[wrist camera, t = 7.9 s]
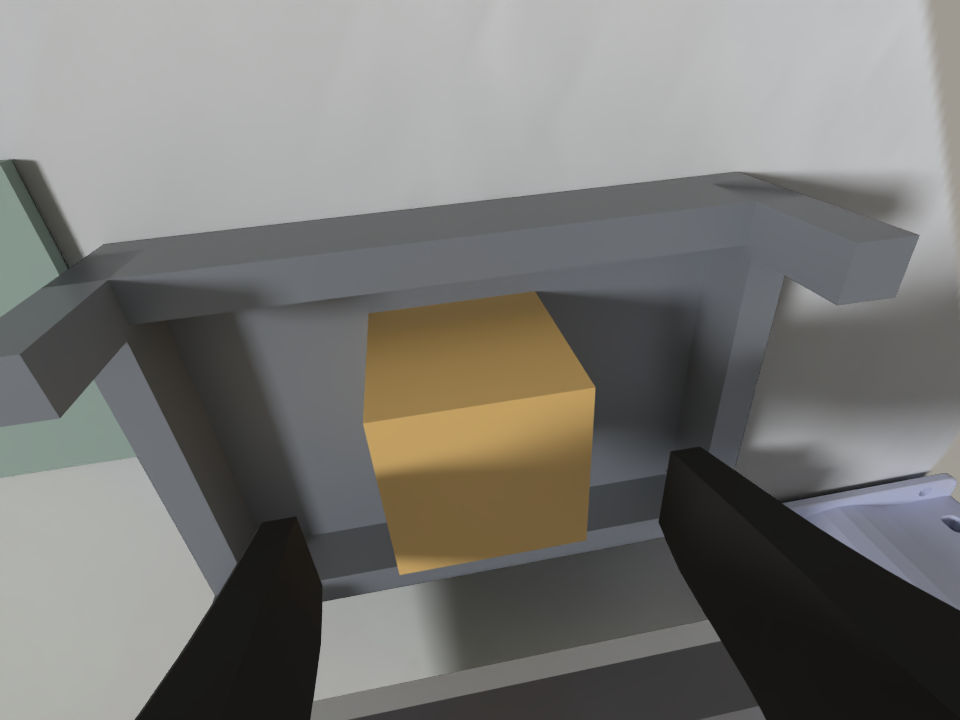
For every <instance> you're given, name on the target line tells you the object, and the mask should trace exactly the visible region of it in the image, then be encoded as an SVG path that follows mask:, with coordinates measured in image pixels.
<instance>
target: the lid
mask: <svg viewBox="0 0 960 720" xmlns="http://www.w3.org/2000/svg"><path fill="white" fill-rule="evenodd" d="M310 720H766V719H765V717H764V715H763V713H762V711H761V709H760V707H759V705H758V704H757V702H756V700H755V698H754V696H753V694H752V693H751V691H750V689H749V687H748V685H747V684H746V682H745V680H744V679H743V677H742V675H741V674H740V672H739V670H738V668H737V667H736V665H735V663H734V662H733V660H732V658H731V657H730V655H729V653H728V652H727V650H726V648H725V647H724V645H723V643H722V642H721V640H720V638H719V637H718V635H717V633H716V632H715V630H714V628H713V627H712V625H711V623H710V622H709V620H704V621H699V622H695V623H690V624H685V625H680V626H675V627H670V628H666V629H661V630H656V631H651V632H646V633H641V634H637V635H632V636H627V637H622V638H617V639H612V640H608V641H603V642H598V643H593V644H588V645H583V646H579V647H574V648H569V649H564V650H559V651H554V652H550V653H545V654H540V655H535V656H530V657H525V658H521V659H516V660H511V661H506V662H501V663H496V664H492V665H487V666H482V667H477V668H472V669H467V670H463V671H458V672H453V673H448V674H443V675H438V676H434V677H429V678H424V679H419V680H414V681H409V682H405V683H400V684H395V685H390V686H385V687H380V688H376V689H371V690H366V691H361V692H356V693H351V694H347V695H342V696H337V697H332V698H327V699H322V700H318V701H313V705H312V712H311V719H310Z"/></svg>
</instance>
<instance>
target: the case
mask: <svg viewBox="0 0 960 720" xmlns="http://www.w3.org/2000/svg"><path fill="white" fill-rule="evenodd" d="M918 238H919V235H918V234H915V233H912V232H909V231H906V230H903V229H901V228H898V227H895V226H892V225H889V224H886V223H883V222H880V221H878V220H875V219H872V218H869V217H866V216H863V215H860V214H857V213H855V212H852V211H849V210H846V209H843V208H840V207H837V206H835V205H832V204H829V203H826V202H823V201H820V200H817V199H814V198H812V197H809V196H806V195H803V194H800V193H797V192H794V191H791V190H789V189H786V188H783V187H780V186H777V185H774V184H771V183H769V182H766V181H763V180H760V179H757V178H754V177H751V176H748V175H746V174H743V173H740V172H732V173H723V174H714V175H706V176H697V177H688V178H680V179H671V180H662V181H653V182H645V183H636V184H627V185H618V186H610V187H601V188H592V189H583V190H575V191H566V192H557V193H548V194H540V195H531V196H522V197H513V198H505V199H496V200H487V201H478V202H470V203H461V204H452V205H443V206H435V207H426V208H417V209H408V210H400V211H391V212H382V213H373V214H365V215H356V216H347V217H338V218H330V219H321V220H312V221H303V222H295V223H286V224H277V225H268V226H260V227H251V228H242V229H233V230H225V231H216V232H207V233H198V234H190V235H181V236H172V237H163V238H155V239H146V240H137V241H128V242H120V243H111V244H103V245H102V246H100V247H99V248H98V249H96V250H95V251H93V252H92V253H90V254H89V255H88V256H86V257H85V258H83V259H82V260H81V261H79V262H78V263H76V264H75V265H73V266H72V267H71V268H69V269H68V270H66V271H65V272H64V273H62V274H61V275H59V276H58V277H56V278H55V279H54V280H52V281H51V282H49V283H48V284H47V285H45V286H44V287H42V288H41V289H40V290H38V291H37V292H35V293H34V294H32V295H31V296H30V297H28V298H27V299H25V300H24V301H23V302H21V303H20V304H18V305H17V306H15V307H14V308H13V309H11V310H10V311H8V312H7V313H6V314H4V315H3V316H1V317H0V427H5V426H12V425H19V424H26V423H32V422H39V421H46V420H53V419H60V418H61V417H62V416H63V415H64V413H65V412H66V411H67V410H68V409H69V408H70V406H71V405H72V404H73V403H74V402H75V401H76V400H77V398H78V397H79V396H80V395H81V394H82V393H83V391H84V390H85V389H86V388H87V387H88V386H89V385H90V383H91V382H92V381H93V380H94V381H95V383H96V385H97V387H98V388H99V390H100V392H101V394H102V396H103V397H104V399H105V401H106V403H107V404H108V406H109V408H110V410H111V412H112V413H113V415H114V417H115V419H116V420H117V422H118V424H119V426H120V428H121V429H122V431H123V433H124V435H125V436H126V438H127V440H128V442H129V443H130V445H131V447H132V449H133V451H134V452H135V454H136V456H137V458H138V459H139V461H140V463H141V465H142V467H143V468H144V470H145V472H146V474H147V475H148V477H149V479H150V481H151V483H152V484H153V486H154V488H155V490H156V491H157V493H158V495H159V497H160V499H161V500H162V502H163V504H164V506H165V507H166V509H167V511H168V513H169V515H170V516H171V518H172V520H173V522H174V523H175V525H176V527H177V529H178V531H179V532H180V534H181V536H182V538H183V539H184V541H185V543H186V545H187V547H188V548H189V550H190V552H191V554H192V555H193V557H194V559H195V561H196V563H197V564H198V566H199V568H200V570H201V571H202V573H203V575H204V577H205V579H206V580H207V582H208V584H209V586H210V587H211V589H212V591H213V593H214V595H215V597H214V601H215V599H216V597H217V596H218V594H219V592H220V591H221V589H222V587H223V586H224V584H225V582H226V581H227V579H228V577H229V576H230V574H231V572H232V571H233V569H234V567H235V566H236V564H237V562H238V561H239V559H240V557H241V555H242V554H243V552H244V550H245V549H246V547H247V545H248V543H249V542H250V540H251V538H252V537H253V535H254V533H255V531H256V530H257V528H258V527H259V525H260V524H261V523H262V522H267V521H272V520H278V519H284V518H290V517H295V516H296V517H297V519H298V522H299V525H300V527H301V530H302V533H303V535H304V538H305V540H306V543H307V546H308V548H309V551H310V554H311V556H312V559H313V562H314V564H315V567H316V570H317V572H318V575H319V578H320V580H321V583H322V586H323V587H322V602H323V601H329V600H334V599H339V598H345V597H350V596H355V595H361V594H366V593H371V592H377V591H382V590H387V589H393V588H398V587H403V586H409V585H414V584H419V583H424V582H430V581H435V580H440V579H446V578H451V577H456V576H462V575H467V574H472V573H478V572H483V571H488V570H494V569H499V568H504V567H510V566H515V565H520V564H525V563H531V562H536V561H541V560H547V559H552V558H557V557H563V556H568V555H573V554H579V553H584V552H589V551H595V550H600V549H605V548H611V547H616V546H621V545H627V544H632V543H637V542H642V541H648V540H653V539H658V538H664V534H663V532H662V530H661V527H660V525H659V516H660V510H661V504H662V498H663V492H664V487H665V481H666V475H667V469H668V463H669V457H670V451H676V450H681V449H687V448H693V447H699V446H700V447H701V448H703V449H704V450H706V451H707V452H709V453H710V454H712V455H713V456H715V457H716V458H718V459H719V460H721V461H722V462H723V463H725V464H726V465H728V466H729V467H731V468H732V469H733V470H734V469H735V465H736V461H737V458H738V454H739V450H740V446H741V442H742V438H743V434H744V431H745V427H746V423H747V419H748V415H749V411H750V407H751V404H752V400H753V396H754V392H755V388H756V384H757V381H758V377H759V373H760V369H761V365H762V361H763V357H764V354H765V350H766V346H767V342H768V338H769V334H770V330H771V327H772V323H773V319H774V315H775V311H776V307H777V304H778V300H779V296H780V292H781V288H782V284H783V280H784V277H785V276H786V277H788V278H790V279H791V280H793V281H795V282H797V283H799V284H800V285H802V286H804V287H806V288H807V289H809V290H811V291H813V292H814V293H816V294H818V295H820V296H821V297H823V298H825V299H827V300H829V301H830V302H832V303H834V304H836V305H844V304H851V303H858V302H865V301H872V300H879V299H885V298H892V297H896V294H897V292H898V289H899V287H900V284H901V281H902V279H903V276H904V274H905V271H906V269H907V266H908V264H909V261H910V258H911V256H912V253H913V251H914V248H915V246H916V243H917V240H918ZM532 291H535V292H536V294H537V295H538V297H539V298H540V300H541V302H542V303H543V305H544V306H545V308H546V310H547V311H548V313H549V314H550V316H551V317H552V319H553V321H554V322H555V324H556V325H557V327H558V329H559V330H560V332H561V333H562V335H563V337H564V338H565V340H566V341H567V343H568V345H569V346H570V348H571V349H572V351H573V352H574V354H575V356H576V357H577V359H578V360H579V362H580V364H581V365H582V367H583V368H584V370H585V372H586V373H587V375H588V376H589V378H590V379H591V381H592V383H593V384H594V386H595V387H596V388H595V405H594V422H593V439H592V455H591V472H590V489H589V506H588V523H587V540H586V541H581V542H575V543H570V544H564V545H559V546H554V547H548V548H543V549H538V550H532V551H527V552H521V553H516V554H511V555H505V556H500V557H494V558H489V559H484V560H478V561H473V562H468V563H462V564H457V565H451V566H446V567H441V568H435V569H430V570H424V571H419V572H414V573H408V574H403V575H399V570H398V566H397V562H396V558H395V554H394V550H393V546H392V542H391V537H390V533H389V529H388V525H387V521H386V517H385V513H384V509H383V504H382V500H381V496H380V492H379V488H378V484H377V480H376V475H375V471H374V467H373V463H372V459H371V455H370V451H369V447H368V442H367V438H366V434H365V430H364V426H363V412H364V392H365V372H366V352H367V332H368V313H375V312H383V311H390V310H398V309H405V308H413V307H420V306H428V305H435V304H443V303H450V302H458V301H465V300H472V299H480V298H487V297H495V296H502V295H510V294H517V293H525V292H532ZM214 601H213V602H214Z"/></svg>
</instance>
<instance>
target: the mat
mask: <svg viewBox="0 0 960 720" xmlns="http://www.w3.org/2000/svg"><path fill="white" fill-rule="evenodd" d="M66 270H68V268H67V266H66V264H65V262H64V260H63V258H62V256H61V254H60V252H59V250H58V248H57V247H56V245H55V243H54V241H53V239H52V237H51V235H50V233H49V231H48V229H47V227H46V225H45V224H44V222H43V220H42V218H41V216H40V214H39V212H38V210H37V208H36V206H35V204H34V202H33V201H32V199H31V197H30V195H29V193H28V191H27V189H26V187H25V185H24V183H23V181H22V180H21V178H20V176H19V174H18V172H17V170H16V168H15V166H14V164H13V162H12V160H11V159H10V160H0V317H1V316H3V315H4V314H6V313H7V312H8V311H10V310H11V309H13V308H14V307H15V306H17V305H18V304H20V303H21V302H23V301H24V300H25V299H27V298H28V297H30V296H31V295H32V294H34V293H35V292H37V291H38V290H40V289H41V288H42V287H44V286H45V285H47V284H48V283H49V282H51V281H52V280H54V279H55V278H56V277H58V276H59V275H61V274H62V273H64V272H65V271H66ZM131 457H137V456H136V454H135V452H134V451H133V449H132V447H131V445H130V443H129V442H128V440H127V438H126V436H125V435H124V433H123V431H122V429H121V428H120V426H119V424H118V422H117V420H116V419H115V417H114V415H113V413H112V412H111V410H110V408H109V406H108V404H107V403H106V401H105V399H104V397H103V396H102V394H101V392H100V390H99V388H98V387H97V385H96V383H95V381H94V380H93V381H92V382H91V383H90V385H89V386H88V387H87V388H86V389H85V390H84V391H83V393H82V394H81V395H80V396H79V397H78V398H77V400H76V401H75V402H74V403H73V404H72V405H71V406H70V408H69V409H68V410H67V411H66V412H65V413H64V415H63V416H62V417H61V418H60V419H53V420H46V421H39V422H32V423H26V424H19V425H12V426H5V427H0V478H2V477H8V476H15V475H21V474H28V473H34V472H41V471H47V470H54V469H60V468H67V467H73V466H80V465H86V464H93V463H99V462H106V461H112V460H118V459H125V458H131Z"/></svg>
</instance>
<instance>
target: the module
mask: <svg viewBox="0 0 960 720" xmlns="http://www.w3.org/2000/svg"><path fill="white" fill-rule="evenodd" d="M595 388H596V387H595V386H594V384H593V383H592V381H591V379H590V378H589V376H588V375H587V373H586V372H585V370H584V368H583V367H582V365H581V364H580V362H579V360H578V359H577V357H576V356H575V354H574V352H573V351H572V349H571V348H570V346H569V345H568V343H567V341H566V340H565V338H564V337H563V335H562V333H561V332H560V330H559V329H558V327H557V325H556V324H555V322H554V321H553V319H552V317H551V316H550V314H549V313H548V311H547V310H546V308H545V306H544V305H543V303H542V302H541V300H540V298H539V297H538V295H537V294H536V292H535V291H532V292H525V293H517V294H510V295H502V296H495V297H487V298H480V299H472V300H465V301H458V302H450V303H443V304H435V305H428V306H420V307H413V308H405V309H398V310H390V311H383V312H375V313H368V332H367V352H366V372H365V392H364V412H363V426H364V430H365V434H366V438H367V442H368V447H369V451H370V455H371V459H372V463H373V467H374V471H375V475H376V480H377V484H378V488H379V492H380V496H381V500H382V504H383V509H384V513H385V517H386V521H387V525H388V529H389V533H390V537H391V542H392V546H393V550H394V554H395V558H396V562H397V566H398V570H399V575H403V574H408V573H414V572H419V571H424V570H430V569H435V568H441V567H446V566H451V565H457V564H462V563H468V562H473V561H478V560H484V559H489V558H494V557H500V556H505V555H511V554H516V553H521V552H527V551H532V550H538V549H543V548H548V547H554V546H559V545H564V544H570V543H575V542H581V541H586V540H587V523H588V506H589V489H590V472H591V455H592V439H593V422H594V405H595Z"/></svg>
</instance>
